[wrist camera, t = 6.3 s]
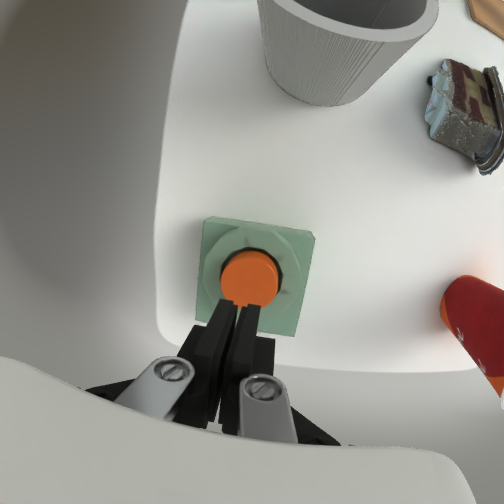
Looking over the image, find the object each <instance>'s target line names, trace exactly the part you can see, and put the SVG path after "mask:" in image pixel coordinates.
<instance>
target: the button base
mask: <svg viewBox="0 0 504 504" xmlns="http://www.w3.org/2000/svg"><path fill="white" fill-rule="evenodd" d="M314 243H315V237H314V236H313V234H312V232H309V231H303V230H297V229H291V228H285V227H279V226H273V225H266V224H260V223H253V222H247V221H240V220H234V219H227V218H220V217H211V218H209V219H207V220H205V221H204V225H203V234H202V244H201V254H200V265H199V276H198V288H197V301H196V316H195V320H198V321H203V322H209V320H210V318H211V316H212V314H213V312H214V310H215V308H216V306H217V304H218V302H219V300H220V299H226V298H225V297H224V295H223V292H222V290H221V276H222V273H223V271H224V269H225V267H226V266H227V264H228V263H229V261H230V260H231V259H232V258H233V257H234V256H235V255H237V254H238V253H241V252H244V251H258V252H261V253H263V254H265V255H266V256H268V257H269V258H270V259H271V260H272V261H273V262H274V264H275V266H276V268H277V272H278V289H277V293H276V295H275V297H274V299H273V300H272V301H271V302H270V303H269V304H268V305H267V306H265V307H264V308H261V310H260V316H259V322H258V328H257V331H258V332H264V333H271V334H278V335H284V336H292V337H294V336H295V332H296V328H297V324H298V319H299V315H300V311H301V306H302V302H303V297H304V293H305V288H306V283H307V278H308V274H309V269H310V264H311V259H312V254H313V249H314ZM226 300H227V299H226ZM240 311H241V309H239V308H238V311H237V319H236V324H237V321H238V318H239V314H240ZM235 327H236V326H235Z"/></svg>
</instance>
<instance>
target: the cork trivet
mask: <svg viewBox="0 0 504 504" xmlns="http://www.w3.org/2000/svg"><path fill="white" fill-rule="evenodd" d="M468 3H469V7H470V11H471V15H472V20H474V21H475V22H477V23H479V24H480V25H482V26H484V27H485V28H487V29H488V30H490V31H491V32H493V33H494V34H496V35H497V36H499V37H500V38H502V39H503V40H504V1H503V0H468Z"/></svg>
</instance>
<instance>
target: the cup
mask: <svg viewBox="0 0 504 504" xmlns="http://www.w3.org/2000/svg"><path fill="white" fill-rule="evenodd" d="M257 2H258V9H259V15H260V22H261V29H262V36H263V43H264V50H265V58H266V63H267V66H268V69H269V72H270V74H271V75H272V77H273V79H274V80H275V81H276V82H277V83H278V85H279V86H280V87H281V88H282V89H284V90H285V91H286V92H287V93H288V94H290V95H291V96H294V97H295V98H297V99H298V100H301V101H303V102H306V103H310V104H313V105H320V106H338V105H343V104H346V103H349V102H352V101H354V100H355V99H357V98H359V97H360V96H361V95H363V94H364V93H365V92H366V91H367V90H368V89H369V88H370V87H371V86H372V85H373V84H374V83H375V82H376V81H377V80H378V79H379V78H380V77H381V76H382V75H383V74H384V73H385V72H386V71H387V70H388V69H389V68H390V67H391V66H392V65H393V64H394V63H395V62H396V61H397V60H398V59H399V58H401V57H402V56H403V55H404V54H405V53H406V52H407V51H408V50H409V49H410V48H411V47H412V46H413V45H414V44H415V43H416V42H417V41H418V40H420V39H421V38H422V37H423V36H424V35H425V34H426V33H427V32H428V31H429V30H430V29H431V28H432V27H433V25H434V24H435V22H436V20H437V15H438V7H439V6H438V5H439V4H438V0H257Z"/></svg>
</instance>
